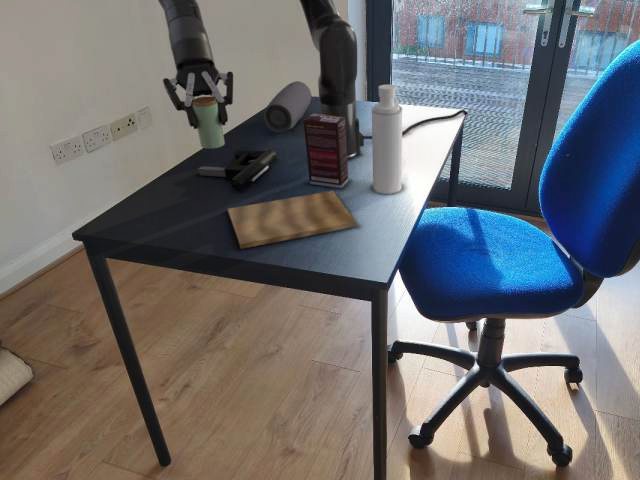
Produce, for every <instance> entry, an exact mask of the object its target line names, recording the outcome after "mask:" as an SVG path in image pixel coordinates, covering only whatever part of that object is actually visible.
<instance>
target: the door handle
mask: <svg viewBox="0 0 640 480" xmlns="http://www.w3.org/2000/svg"><path fill="white" fill-rule="evenodd" d="M234 159H235V161H233V162H232V163H230V164H229V165H228V166H226V167H217V166H204V165H203V166H202V165H201V166H200V167H199V168H198V169H197V170H198V174H199V176H204V177H205V176H207V177H208V176H209V177H222V178H226V181H230V187H231V188H233V189H234V190H240V189H242V188H244V187H245V186H246V185H247V184H248V183H250V182H255V180H257V179H258V178H259V177H260V176H262V174H263V173H264V172H266V171H267V170H268V169H269V168H270V167H269V165H271V164H272V163H273V162H274V161H277V160H278V159H277V152H276V151H275V150H274V149H270V148H269V149H267V150H259V149H237V150H236V151H235V152H234ZM247 163H248V165H246V164H247Z"/></svg>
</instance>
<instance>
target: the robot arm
mask: <svg viewBox="0 0 640 480" xmlns="http://www.w3.org/2000/svg"><path fill="white" fill-rule="evenodd" d="M157 2H158V3H159V5H160V6H161V8H162V10H163V13H164V18H165V21H166V26H167V30H168V39H169V45H170V50H171V53H172V56H173V60H174V65H175V69H176V74H175V77H174V78H170V79H169V78H167V77H165V78H163V79H162V83H163V87H164V89H165V91H166V93H167V96H168V97H169V100H170V101H171V103H172V104H173V106H174V108H175V110H176V111H177V112H181V111H184V112H185V113H186V117H187V121H188V125H189V126H190V127H193V130H197V129H198V127H197V122H196V118H195V114H194V110H193V106H192V104H193V100H194V99H195V98H198V97H202V96H209V97H214V98H215V99H216V101H217V103H218V109H219V114H220V119H221V124H222V126H226V123H228V120H229V116H228V115H229V114H228V112H227V108H226V106H228V105H229V106H231V105H232V104H233V103H234V101H233V100H234V73H233V72H232V71H228V72H226V73H225V72H224V73H223V72H220V70H218V69H217V66H216V63H215V59H214V55H213V51H212V48H211V47H212V46H211V43H210V39H209V35H208V32H207V30H206V28H205V24H204V21H203V17H202V12H201V9H200V6H199V4H198V1H197V0H157ZM299 3H300V5H301V8H302V11H303V15H304V17H305V21H306V24H307V27H308V32H309V34H310V37H311V41H312V44H313V46H314V48H315V49H316V51H317V52H318V53H319V69H320V71H319V76H318V77H317V87H318V100H319V102H318V103H319V114H323V115H333V116H342V117H345V126H346V145H347V160H351V159H353V158H355V157H357V156H361V147H364V146H365V140H372V135H364V134H363V133H362V132H360V120H359V118H358V117H357V97H356V96H357V94H356V80H357V79H358V78H357V77H358V40H357V39H358V38H357V35H356V31H355V29H354V28H353V27H352V25H351V24H350V23H348V22H347V21H346V20H343V19H342V17H341V15H340V13H339V11H338V9H337V7H336V4H335V2H334V0H299ZM220 80H221V82H222V84H223V85H224V86H226V93H225V95H224V96H223V95H222V94H221V92H220V89H219V88H218V87H217V86H218V84H219V81H220ZM177 86H179V87H180V88H182V89H183V90H184V91H185V98H184V101H183V100H181V98H180V97H179V95H178V94H177V92H176V91H177ZM461 114H464V115H469V112H468V111H467V110H465V109H460V110H458V111H457V112H455V113H453V114H450V115H443V116H436V117H431V118H426V119H423V120H420V121H418V122H416V123H413V124H411V125H409V126H407V128H406V129H405V130H402V137H403V136H405V135H406V134H407V133H409V132H410V131H411V130H412V129H414V128H416V127H419V126H421V125H423V124H426V123H430V122H435V121H441V120H449V119H453V118H456V117H457V116H459V115H461Z"/></svg>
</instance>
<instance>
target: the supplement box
mask: <svg viewBox="0 0 640 480" xmlns="http://www.w3.org/2000/svg"><path fill="white" fill-rule="evenodd" d="M303 131H304V140H305V150H306V160H307V169H308V170H307V171H308V180H309V184H310V185H316V186H321V187H329V188H337V189H342V188H344V186H346V184H347V183H348V182H349V168H348V167H349V166H348V165H349V164H348V159H347V145H346V126H345V117H342V116H333V115H323V114H320V113H314V112H311V113H310V114H308V115H307V116H306V117H304V118H303Z"/></svg>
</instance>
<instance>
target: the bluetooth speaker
mask: <svg viewBox="0 0 640 480" xmlns="http://www.w3.org/2000/svg"><path fill="white" fill-rule="evenodd" d="M311 101H312V91H311V89H310V88H309V86H308V85H307V84H306V83H304V82H302V81H298V80H296V81H292V82H290V83H288V84H287V85H286V86H285V87H284V88H282V89H281V90H280V91H278V93H277V94H276V95H275V96H274V97H273V98H272V99H271V101H269V103H268V104H267V106H266V107H265V110H264V113H263V121H264V123H265V125H266V126H267V128H268V129H269V130H270V131H272V132H274V133H285V132H288V131H289V130H291V129H293V128H294V127H295V125H296V124H297V123H298V121H300V119H301V118H302V117H303V115H305V112H306V111H307V109H308V108H309V106H310V104H311Z"/></svg>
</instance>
